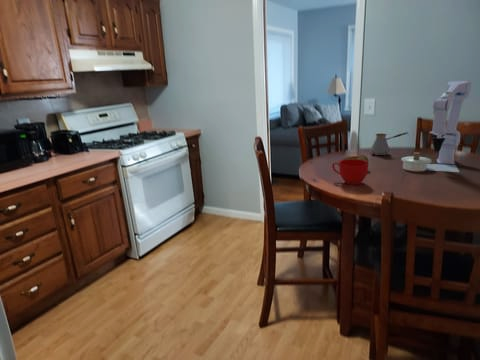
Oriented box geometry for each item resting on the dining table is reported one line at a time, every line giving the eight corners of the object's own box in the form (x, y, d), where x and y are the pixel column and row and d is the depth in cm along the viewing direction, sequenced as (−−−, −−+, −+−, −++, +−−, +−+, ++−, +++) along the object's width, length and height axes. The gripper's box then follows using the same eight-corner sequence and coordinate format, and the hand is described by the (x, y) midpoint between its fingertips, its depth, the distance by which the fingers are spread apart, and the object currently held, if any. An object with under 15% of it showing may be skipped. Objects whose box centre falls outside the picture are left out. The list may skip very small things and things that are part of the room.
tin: (343, 173, 178) (344, 157, 175) (340, 171, 181) (340, 156, 178) (368, 169, 181) (369, 154, 179) (364, 168, 184) (365, 153, 182)
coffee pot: (367, 155, 213) (369, 131, 209) (373, 151, 222) (374, 129, 218) (403, 158, 201) (406, 133, 196) (408, 155, 209) (411, 130, 205)
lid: (401, 157, 186) (402, 149, 185) (430, 158, 180) (431, 150, 179) (401, 163, 174) (402, 155, 173) (432, 164, 168) (433, 156, 167)
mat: (425, 164, 187) (425, 163, 186) (455, 166, 181) (455, 165, 181) (427, 170, 174) (427, 170, 174) (459, 172, 169) (459, 172, 169)
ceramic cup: (337, 176, 172) (338, 157, 169) (371, 181, 162) (372, 161, 159) (326, 183, 162) (326, 162, 160) (361, 188, 152) (362, 167, 149)
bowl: (402, 165, 186) (403, 157, 184) (425, 167, 181) (426, 159, 180) (402, 171, 176) (403, 162, 175) (426, 172, 172) (427, 163, 170)
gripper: (429, 121, 178) (427, 146, 182) (431, 125, 165) (428, 152, 169) (445, 121, 175) (442, 147, 179) (448, 125, 162) (444, 153, 166)
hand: (436, 149), depth 174 cm, fingers open, 7 cm apart
